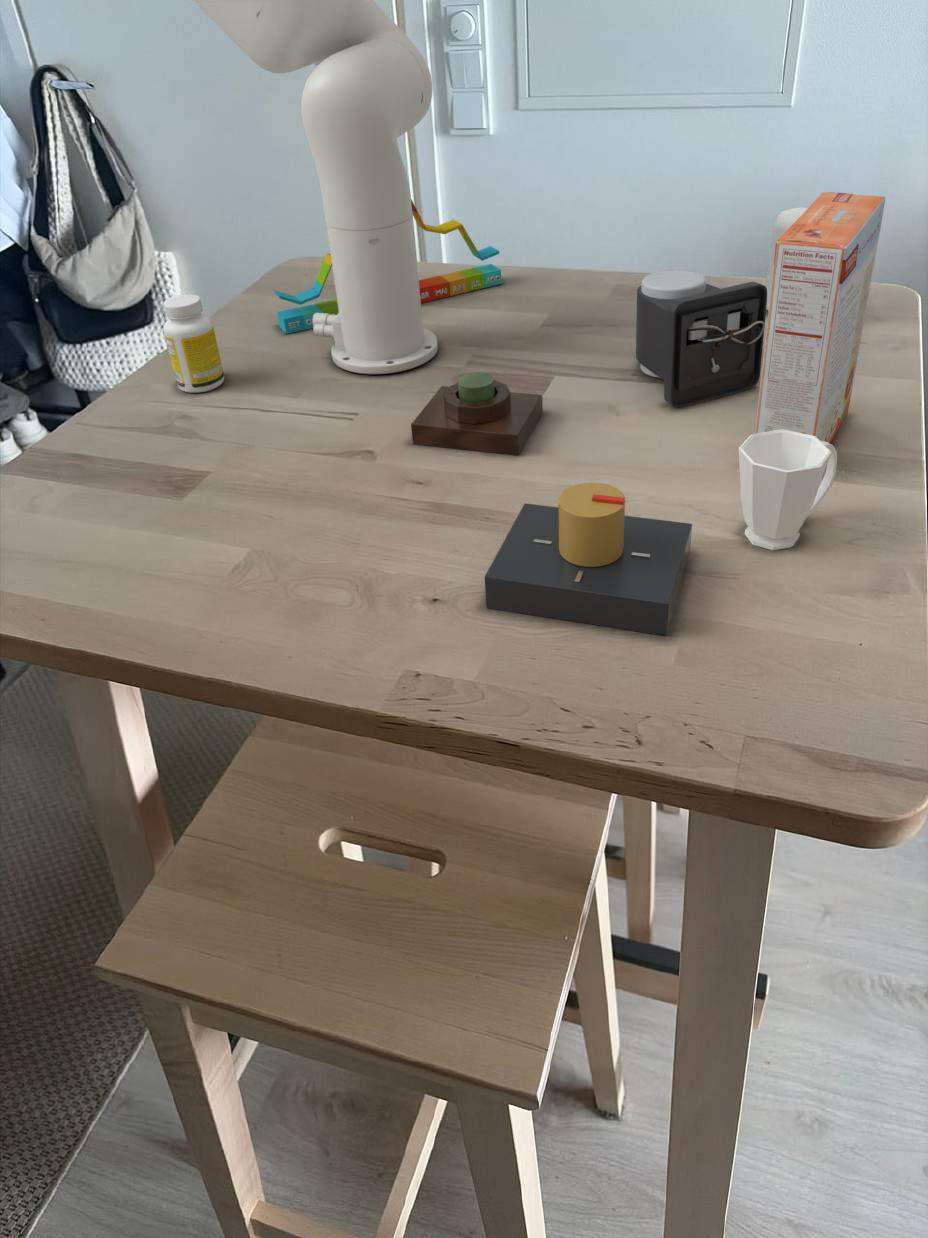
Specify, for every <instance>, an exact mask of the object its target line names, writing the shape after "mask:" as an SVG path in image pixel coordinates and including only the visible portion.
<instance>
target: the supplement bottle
mask: <svg viewBox="0 0 928 1238" xmlns="http://www.w3.org/2000/svg"><path fill="white" fill-rule="evenodd" d="M163 307H164V312H165V316H166V317H167V318H168V320H166V321H165V322H164V324H163V328H162V329H163V334H164V335H163V336H164V339H165V342H166V346H167V349H168V354H169V357H170V358H169V359H170V361H171V366H172V370H173V373H174V377H175V381H176V385H177V387H178V389H179V390H180V391H182V392H185V393H192V394H197V393H204V392H209V391H213V390H215V389H217V388H218V387H220V386H221V385H222V384H223V383H224V381H225V373H224V368H223V363H222V359H221V355H220V350H219V346H218V341H217V337H216V332H215V329H214V325H213V321H212V318H210V316H208V315H206V314H204V313H202V312H203V310H204V309H203V304H202V301H201V297H200V296H199V295H197V294H192V293H185V294H177V295H174V296H171V297H168V298H166V299H165V300H164V302H163Z"/></svg>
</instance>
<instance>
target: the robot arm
mask: <svg viewBox="0 0 928 1238" xmlns="http://www.w3.org/2000/svg"><path fill="white" fill-rule="evenodd" d="M193 1H194V3H195V4H196V5H197V6H198V7H199V8H200V9H201V10H202V11H203V12H204V13H205V14H206V15H207V16H208V17H209V18H210V19H211V21H213V22H214V23H215V24H216V26H218V27H219V28H220V29H221V30H222V31H223V32H224V34H226V35H227V36H228V38H230V40H232V41H233V43H235V44H236V45H237V46H238V48H239V49H240V50H241V51H242V52H243V53H244V54H245V55H246V56H247V57H248V58H250V59H251V61H252V62H254V64H256V65H257V66H258V67H259V68H261V69H263V70H264V71H267V72H269V73H272V74H289V73H293V72H296V71H298V70H300V69H303V68H305V67H309V66H311V65H313V64H314V65H315V67H314V69H313V70H312V71H311V72H310V74H309V76H308V77H307V80H306V81H305V84H304V86H303V87H304V88H303V90H302V95H301V101H300V102H301V103H300V104H301V105H300V110H301V119H302V126H303V129H304V133H305V136H306V140H307V143H308V146H309V149H310V153H311V155H312V159H313V162H314V166H315V170H316V174H317V178H318V184H319V189H320V194H321V202H322V207H323V213H324V214H323V215H324V222H325V226H326V232H327V233H326V234H327V240H328V245H329V254H331V261H332V267H331V269H332V275H333V282H334V288H335V296H336V299H337V303H338V310H339V313H338V314H337V315H331V314H327V313H315V314H314V316H313V327H314V328H312V330H313V334H314V336H316V337H331V338H332V340H334V343H333V344H332V346H331V349H330V352H331V359H332V362H333V364H335V365H336V366H337V367H339V368H341V369H342V370H345V371H348V372H350V373H356V374H361V375H362V374H363V375H386V374H387V375H388V374H395V373H401V372H405V371H408V370H412V369H414V368H417V367H419V366H420V367H421V365H424V364H425V363H427V362H429V361H430V360H432V359H433V358H434V357H435V356H436V355H437V352H438V349H439V343H438V338H437V336H436V335H435V333H433V331H430V330H429V329H427V328H426V327H425V328H424V323H423V314H422V312H423V311H422V303H421V300H420V289H419V280H420V279H419V269H418V268H419V267H418V258H417V248H416V247H417V246H416V236H415V235H416V234H415V225H414V224H415V223H414V217H413V213H412V205H411V199H412V196H411V195H412V194H411V190H410V183H409V179H408V174H407V171H406V166H405V164H404V162H403V158H402V155H401V152H400V147H399V143H398V138H399V137H400V136H402V135H404V134H406V133H407V132H409V131H410V130H412V129H413V128H415V127H416V126H417V125H418V124H419V123H420V122H421V121H422V120H423V119H424V117H425V116H426V114H427V112H428V111H429V109H430V106H431V103H432V99H433V79H432V74H431V71H430V68H429V65H428V63H427V61H426V59H425V58H424V56H423V54H422V53H421V51H420V50H419V49H418V47H417V46H416V45H415V43H414V42H413V41H412V40H411V38H410V37H408V36H407V35H406V33H405V32H404V31H403V30H402V29H401V28H400V27H399V26H398V25H397V24H396V22H394V20H393V19H392V18H391V17H390V16H389V15H388V14H387V13H386V12H385V11H384V10H383V9H382V8H381V6H380V5H379V4H378V3H376V1H375V0H193Z"/></svg>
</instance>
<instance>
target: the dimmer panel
mask: <svg viewBox="0 0 928 1238" xmlns="http://www.w3.org/2000/svg"><path fill="white" fill-rule="evenodd" d="M692 533H693V523H690V522H689V523H688V522H681V521H672V520H664V519H658V518H657V519H655V518H647V517H639V516H633V515H632V516H631V515H625V523H624V547H623V553H622V555H621V556H620V558H619V559H617V560H616V561H614V562H613V563H610V564H608V565H604V566H599V567H584V566H578V565H575V564H572V563H570V562H568V561H567V560H565V559H564V558H563V557H562V556H561V554H560V552H559V506H550V505H541V504H532V503H523V506H522V507H521V509H520V511H519V513H518V514H517V517H516V518H515V520H514V522H513V524H512V526H511V527H510V530H509V531H508V533H507V535H506V537H505V539H504V540H503V542H502V544H501V546H500V548H499V549H498V551H497V553H496V555H495V557H494V558H493V560H492V562H491V564H490V566H489V568H488V570H487V572H486V573H485V575H484V592H485V605H486V606H485V607H486V608H487V609H492V610H499V611H505V612H512V613H517V614H524V615H530V616H538V617H544V618H550V619H556V620H563V621H569V622H570V621H571V622H574V623H581V624H589V625H594V626H601V627H607V628H615V629H621V630H627V631H633V632H638V633H639V632H640V633H645V634H652V635H659V636H667V634H668V632H669V628H670V625H671V620H672V617H673V614H674V610H675V607H676V603H677V599H678V597H679V593H680V590H681V585H682V583H683V579H684V575H685V571H686V570H687V569H686V568H687V565H688V561H689V557H690V553H691V544H692V543H691V542H692Z"/></svg>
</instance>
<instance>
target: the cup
mask: <svg viewBox="0 0 928 1238" xmlns="http://www.w3.org/2000/svg"><path fill="white" fill-rule="evenodd" d="M738 464H739V467H738V468H739V481H740V482H739V483H740V485H739V487H740V502H741V508H742V513H743V519H744V523H745V524H746V525H747V527H746V528H745V530H744V536H745V537H746V538H747V539H748V541H749V542H750V543H751V545H752V546H756V547H759V548H763V549H767V550H771V551H777V550H783V549H789V548H793V547H794V545H795V544H796V542H797V541H798V540H799V538H800V534H801V532H800V529H801V528H802V527H803V525H804V523H805V521H806V519H807V518H808V517H809V516H810V515H811V514H812V512H813V511H814V510H815V509H816V508H817V507H818V505H819V504H820V503H821V502H822V500H824V498H825V496H826V495H827V493H828V492H829V490H830V488H831V487H832V484H833V482H834V480H835V477H836V474H837V467H838V466H837V465H838V453H837V450H836V448H835V446H834V445H833V444H831V443H830V444H829V443H827V442H825V441H820V440H819V439H818V438H817V437H816V436H812V435H807V434H802V433H798V432H793V431H788V430H784V429H781V430H774V431H768V432H761V433H755V432H754V433H751V434H750V435H749V436H748V437H747V438H746V439H745V440H744V442H742V444H741V445H740V446H739V447H738Z"/></svg>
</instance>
